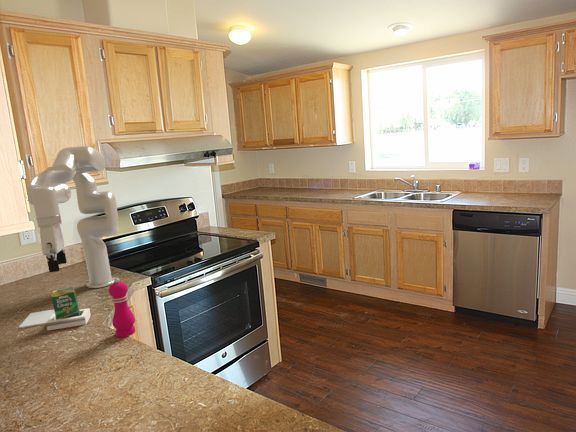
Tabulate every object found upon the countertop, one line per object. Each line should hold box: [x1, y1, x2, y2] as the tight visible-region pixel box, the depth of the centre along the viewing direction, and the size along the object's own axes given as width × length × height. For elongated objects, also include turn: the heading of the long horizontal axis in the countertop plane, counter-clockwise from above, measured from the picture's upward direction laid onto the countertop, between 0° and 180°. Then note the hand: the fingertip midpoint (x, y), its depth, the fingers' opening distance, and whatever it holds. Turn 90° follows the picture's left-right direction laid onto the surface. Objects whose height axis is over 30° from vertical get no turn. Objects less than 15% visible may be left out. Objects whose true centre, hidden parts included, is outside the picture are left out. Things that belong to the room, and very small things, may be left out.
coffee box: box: [50, 286, 81, 320], centre depth 159 cm, size 8×3×13 cm, turn 108°
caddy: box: [44, 308, 92, 332], centre depth 160 cm, size 9×13×3 cm
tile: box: [18, 309, 55, 330], centre depth 167 cm, size 13×11×1 cm
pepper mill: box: [108, 277, 136, 338], centre depth 146 cm, size 7×7×20 cm
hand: (58, 267), depth 156 cm, fingers open, 9 cm apart
